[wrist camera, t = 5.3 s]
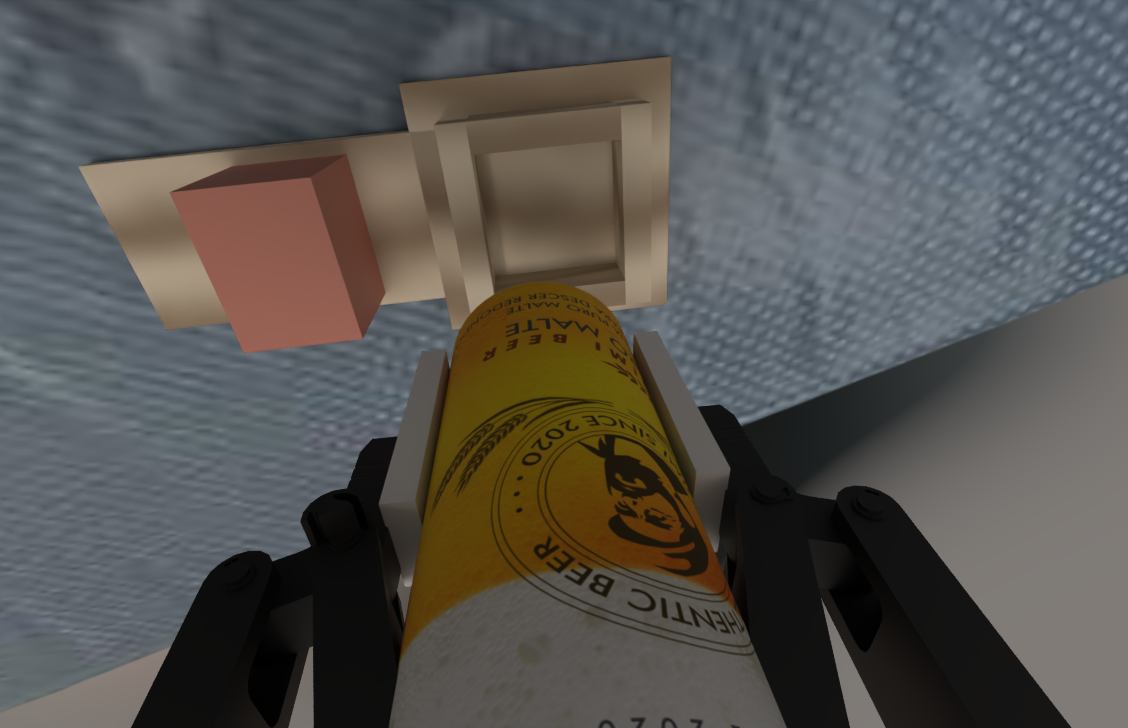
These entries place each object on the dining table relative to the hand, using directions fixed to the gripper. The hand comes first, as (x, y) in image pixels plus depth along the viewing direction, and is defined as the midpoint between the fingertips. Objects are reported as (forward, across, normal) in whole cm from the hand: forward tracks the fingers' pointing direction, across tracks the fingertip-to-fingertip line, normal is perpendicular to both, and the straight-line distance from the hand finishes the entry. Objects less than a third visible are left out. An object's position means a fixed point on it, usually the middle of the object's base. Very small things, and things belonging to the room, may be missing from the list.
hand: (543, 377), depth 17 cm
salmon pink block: (+16, -12, +1) cm, 20 cm away
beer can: (+2, 0, 0) cm, 2 cm away
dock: (+17, -7, +1) cm, 18 cm away
